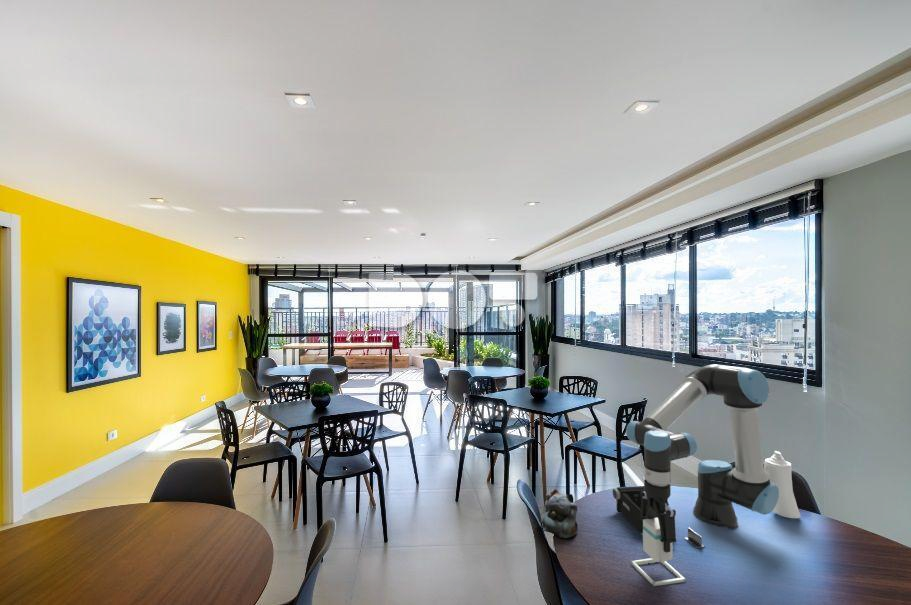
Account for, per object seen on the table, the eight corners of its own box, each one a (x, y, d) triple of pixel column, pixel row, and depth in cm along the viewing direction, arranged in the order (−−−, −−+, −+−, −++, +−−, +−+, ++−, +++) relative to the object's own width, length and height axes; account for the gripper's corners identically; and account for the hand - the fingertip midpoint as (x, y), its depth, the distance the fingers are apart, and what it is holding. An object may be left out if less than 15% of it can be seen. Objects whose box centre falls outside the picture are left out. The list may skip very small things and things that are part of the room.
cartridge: (659, 547, 132) (659, 517, 132) (672, 559, 126) (672, 527, 126) (642, 550, 131) (642, 519, 131) (655, 562, 125) (655, 529, 125)
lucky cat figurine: (533, 526, 157) (535, 489, 158) (553, 517, 165) (554, 483, 165) (565, 544, 145) (566, 505, 146) (585, 534, 153) (586, 497, 153)
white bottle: (791, 522, 159) (790, 459, 159) (760, 510, 169) (759, 450, 169) (804, 514, 165) (804, 453, 165) (773, 503, 174) (773, 445, 174)
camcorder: (612, 509, 171) (612, 485, 171) (653, 507, 172) (653, 483, 172) (637, 536, 151) (637, 509, 151) (684, 533, 152) (684, 507, 152)
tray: (660, 562, 135) (660, 556, 135) (685, 584, 125) (685, 578, 125) (631, 566, 133) (631, 560, 133) (653, 590, 122) (653, 583, 122)
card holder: (691, 537, 149) (691, 527, 149) (704, 547, 143) (704, 536, 143) (684, 538, 149) (684, 528, 149) (697, 548, 143) (697, 537, 143)
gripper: (628, 470, 137) (628, 538, 137) (668, 496, 119) (668, 575, 119) (647, 468, 139) (647, 535, 139) (690, 494, 120) (690, 572, 120)
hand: (657, 553), depth 129 cm, fingers closed on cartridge, 6 cm apart
